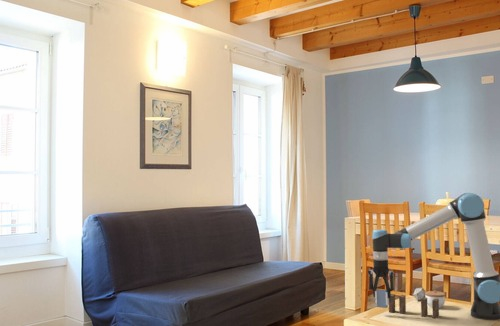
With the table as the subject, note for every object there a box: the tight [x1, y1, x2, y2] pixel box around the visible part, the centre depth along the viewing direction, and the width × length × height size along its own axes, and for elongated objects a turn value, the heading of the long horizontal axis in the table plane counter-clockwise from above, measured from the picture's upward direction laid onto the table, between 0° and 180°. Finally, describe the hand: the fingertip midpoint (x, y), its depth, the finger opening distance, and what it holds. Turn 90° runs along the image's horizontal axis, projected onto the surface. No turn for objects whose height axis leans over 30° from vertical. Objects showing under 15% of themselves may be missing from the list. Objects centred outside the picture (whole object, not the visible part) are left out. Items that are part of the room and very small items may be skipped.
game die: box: [411, 286, 427, 302], centre depth 301 cm, size 9×8×10 cm
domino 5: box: [432, 299, 440, 319], centre depth 265 cm, size 2×5×9 cm, turn 148°
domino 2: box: [388, 293, 396, 314], centre depth 277 cm, size 2×5×9 cm, turn 148°
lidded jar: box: [425, 289, 446, 309], centre depth 286 cm, size 11×11×9 cm
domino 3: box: [398, 294, 407, 315], centre depth 274 cm, size 2×5×9 cm, turn 148°
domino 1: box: [376, 288, 389, 309], centre depth 269 cm, size 2×5×9 cm, turn 58°
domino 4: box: [420, 297, 429, 318], centre depth 268 cm, size 2×5×9 cm, turn 148°
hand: (382, 303), depth 269 cm, fingers closed on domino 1, 5 cm apart
